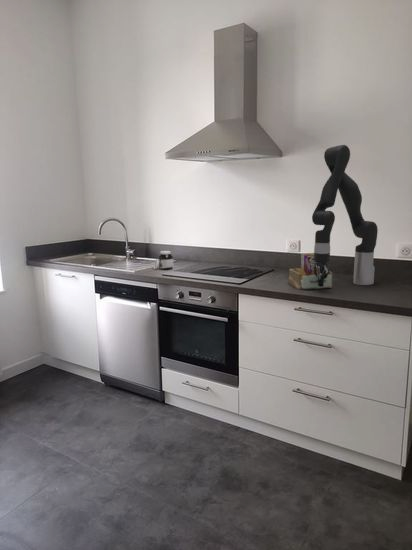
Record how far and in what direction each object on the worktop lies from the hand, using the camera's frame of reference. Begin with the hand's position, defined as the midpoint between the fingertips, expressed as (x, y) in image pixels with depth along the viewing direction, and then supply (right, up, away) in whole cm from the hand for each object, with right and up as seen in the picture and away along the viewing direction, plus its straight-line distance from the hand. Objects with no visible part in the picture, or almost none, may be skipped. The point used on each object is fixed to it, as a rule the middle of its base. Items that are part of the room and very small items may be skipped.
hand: (320, 286), depth 204 cm
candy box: (-2, +2, +12) cm, 13 cm away
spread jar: (-85, +9, +65) cm, 107 cm away
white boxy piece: (-2, 0, +9) cm, 9 cm away
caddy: (-2, 0, +13) cm, 13 cm away
